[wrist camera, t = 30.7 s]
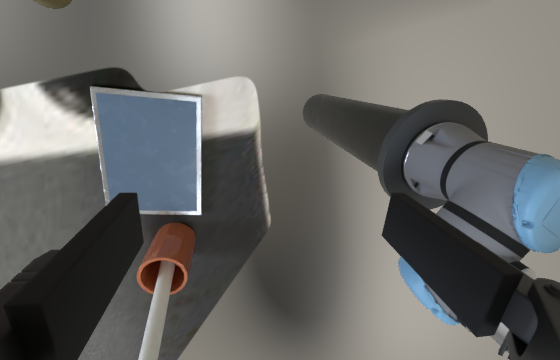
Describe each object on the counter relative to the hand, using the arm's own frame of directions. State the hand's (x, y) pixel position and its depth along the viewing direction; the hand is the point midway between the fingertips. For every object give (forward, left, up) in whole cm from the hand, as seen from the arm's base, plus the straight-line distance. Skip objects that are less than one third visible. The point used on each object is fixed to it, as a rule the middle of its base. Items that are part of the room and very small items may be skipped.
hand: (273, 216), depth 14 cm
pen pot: (+11, +22, -31) cm, 40 cm away
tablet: (+14, +7, -31) cm, 35 cm away
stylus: (+12, +20, -31) cm, 39 cm away
